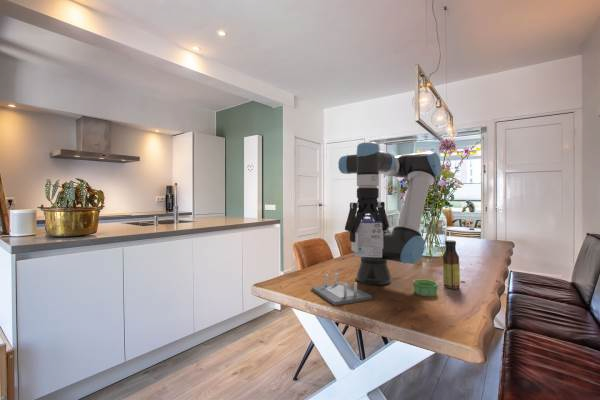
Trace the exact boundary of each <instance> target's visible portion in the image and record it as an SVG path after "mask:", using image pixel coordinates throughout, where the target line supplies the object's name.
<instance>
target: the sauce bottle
mask: <svg viewBox="0 0 600 400" xmlns="http://www.w3.org/2000/svg"><path fill="white" fill-rule="evenodd" d="M444 244H445V251H444V253H443V255H442V276H443V278H442V279H443V280H442V281H443V287H444V288H446V289H450V290H459V289H460V288H461V286H460V285H461V276H460V275H461V272H460V271H461V270H460V266H461V265H460V256H459V255H458V253H457V250H456V248H457V247H456V245H457V242H456V240H452V239H446V240H444Z"/></svg>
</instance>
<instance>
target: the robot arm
mask: <svg viewBox="0 0 600 400" xmlns="http://www.w3.org/2000/svg"><path fill="white" fill-rule="evenodd" d="M337 164H338V165H337V166H338V170H339V172H340V173H342V174H344V175H346V174H347V175H351V174H356V186H357V189H356V198H357V201H356V202H349V212H348V215H347V219H346V223H345V226H344V230H345V231H347V232H349V241H350V242H351V249H350V250H351V251H352V252H353V253H354V252H358V233H356V231H357V229H358V227H359V224H360V222H361V221H362V218H363V216H365V215H372V217H373V221H381V222H382V257H360V263H359V267H358V269H357V272H356V280H357V281H358V282H360V283H362V284H366V285H372V286H385V285H388V284H390V283H391V281H392V277H391V274H390V269H389V266H388V261H393V262H398V263H402V264H410V265H415V264H417V263H418V262H419V261H420V260H421V259H422V258H423V254H424V252H425V240H424V238H423V237H422V233H421V231H419V230H420V227H421V222H422V218H423V217H422V216H423V215H424V214H423V213H424V210H425V209H424V208H425V205H426V199H427V196H428V191H429V186H430V185H431V184H433V183H434V181H435V178H439V177H440V176H441V175H442V162H441V159H440V156H439V154H438V153H437V152H436V151H426V152H417V153H406V154H405V153H404V154H400V155H394V154H393V153H392V152H391V153H390V152H388V151H381V150H380V147H379V144H378V142H374V141H367V142H361V143H358V144H357V147H356V154H349V155H348V154H347V155H343V156H341V157H339V159H338V163H337ZM380 175H385V176H387V177H395V178H403V179H407V180H408V181H409V182H408V186H407V190H406V194H405V197H404V201H403V205H402V209H401V213H400V217H399V220H398V224H397V226H394V227H393V229H392V233H390V232H389V231H388V229H389V228H390V225H389V220H388V216H387V212H386V209H385V207H386V206H385V205H386V204H385V201H379V200H378V199H379V194H380V193H379V192H380V191H379V190H380V189H379V187H378V186H379V181H380V180H379V178H380V177H379V176H380Z"/></svg>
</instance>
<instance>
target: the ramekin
mask: <svg viewBox="0 0 600 400" xmlns="http://www.w3.org/2000/svg"><path fill="white" fill-rule="evenodd" d="M412 281H413V288H414V293H415V294H416V295H419V296H421V295H422V296H423V297H428V298H429V297H430V298H431V296H432V297H435V296H437V293H438V287H439V283H438V282H437V281H434V280H430V279H425V278H423V279H422V278H419V279H417V278H416V279H414V280H412Z"/></svg>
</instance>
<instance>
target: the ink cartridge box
mask: <svg viewBox="0 0 600 400" xmlns="http://www.w3.org/2000/svg"><path fill="white" fill-rule="evenodd" d="M356 233H358V252H354V251H353V257H354V258H361V257H382V222H381V221H374V219H373V217H372V215H371V214H365V216H363V218H362V220H361V222H360V224H359V227H358V229H357V231H356Z"/></svg>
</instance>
